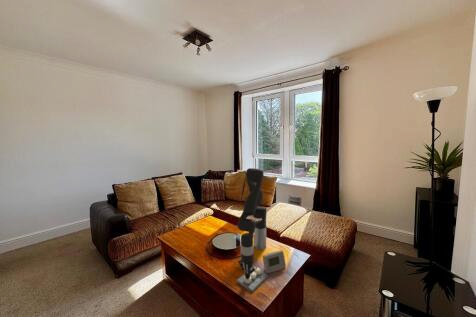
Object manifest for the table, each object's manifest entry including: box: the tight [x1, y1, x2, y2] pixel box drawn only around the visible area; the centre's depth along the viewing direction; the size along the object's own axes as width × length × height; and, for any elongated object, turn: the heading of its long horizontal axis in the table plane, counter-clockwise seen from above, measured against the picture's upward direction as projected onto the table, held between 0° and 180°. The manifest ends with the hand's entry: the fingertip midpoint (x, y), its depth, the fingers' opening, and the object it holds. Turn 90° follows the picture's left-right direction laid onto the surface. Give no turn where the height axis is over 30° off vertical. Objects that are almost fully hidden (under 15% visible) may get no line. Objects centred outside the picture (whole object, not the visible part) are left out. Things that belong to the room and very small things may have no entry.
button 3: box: [254, 266, 262, 276], centre depth 127 cm, size 5×5×3 cm
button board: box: [236, 267, 269, 293], centre depth 123 cm, size 12×16×2 cm
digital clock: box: [262, 249, 287, 274], centre depth 133 cm, size 16×9×11 cm, turn 101°
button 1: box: [244, 276, 251, 285], centre depth 120 cm, size 5×5×3 cm
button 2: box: [250, 272, 256, 281], centre depth 123 cm, size 5×5×3 cm
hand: (247, 278), depth 119 cm, fingers closed
